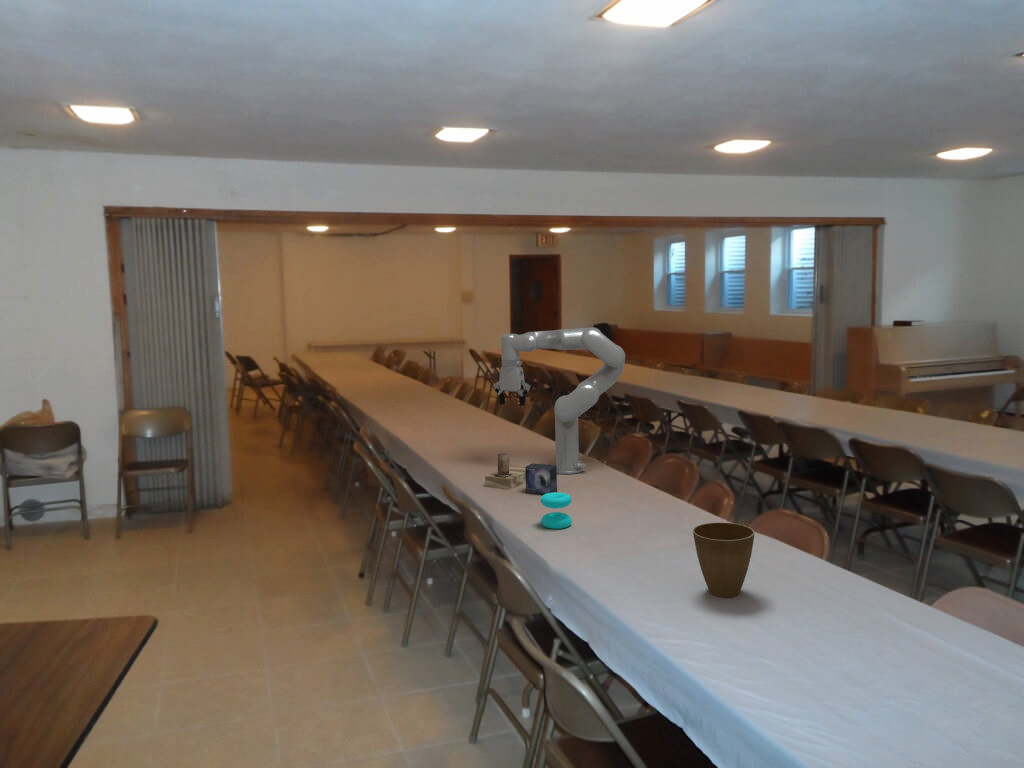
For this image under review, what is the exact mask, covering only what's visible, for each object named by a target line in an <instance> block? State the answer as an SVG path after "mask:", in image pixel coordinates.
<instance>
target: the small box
mask: <svg viewBox="0 0 1024 768" xmlns="http://www.w3.org/2000/svg"><path fill="white" fill-rule="evenodd" d="M525 470H526V482H525V493H526V494H530V495H538V496H543V495H544V494H547V493H554V492H558V476H557V475H558V473H557V466H556V464H555V465H554V464H544V463H536V462H532V463H530V464H528V465H526V466H525Z"/></svg>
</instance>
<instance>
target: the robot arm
mask: <svg viewBox="0 0 1024 768" xmlns="http://www.w3.org/2000/svg"><path fill="white" fill-rule="evenodd" d="M500 339H501V340H500V342H501V367H500V371H499V381H497V382H495V383H493V385H492V386H493V388H494V391H495V392H496V393H497V395H498V398H499V399H498V402H499V405H500V406H503V405H505V404H506V397H505V396H506V395H505V393H506V392H513V393H514V392H515V393H518V395H520V396H519V397H518V399H519V407H523V406H525V405H526V396H527V394H528V393H529V392H530V389H531V385H530V384H529V383H527V382H525V376H524V375H525V374H524V369H523V367H522V366H521V365H523V363H524V362H523V361H521V352H525V353H526V352H527V353H528V352H529V353H531V352H533V351H535V350H548V349H553V350H560V351H568V350H569V351H571V350H584V349H585V350H588V351H590V352H591V353H592V354H593V355H594V356H596V358H598V359H600V361H602V363H603V364H602V366H601V367H600V368H599V369H598V370H597V371H595V372H594V373H593V374H592V375H590V376H588V378H586V379H585V380H583V381H581V382H580V383H579V384H578V385H577V386H576V388H575V389H574V390H572V391H571V392H570V393H569V394H567V395H562V396H560V397H559V398H557V400H556V401H555V403H554V408H553V409H554V410H553V411H554V420H555V421H554V422H555V423H554V424H555V425H554V426H555V427H554V428H555V429H554V431H555V433H554V434H555V435H554V436H555V465H556V466H557V475H558V474H559V475H575V474H580V473H582V472H583V471H584V470H587V469H588V464H587V463H582V460H581V459H580V457H579V456H580V454H579V451H580V449H579V448H580V447H579V446H580V445H579V443H580V442H579V417H580V416H581V415H583V414H584V413H585V412H587V411H588V410H589V409H591V407H594V405H595V404H597V403H598V401H599V398H600V396H601V395H603V393H605V392H606V391H607V390H609V388H611V387H612V386H613V385H615V383H617V382H618V381H619V379H620V378H621V377H622V375H623V373H624V370H625V365H626V363H625V362H626V353H625V351H624V349H623V348H622V347H621V346H620V345H617V344H616V343H614V342H613V341H612V340H611V339H609V338H608V337H607V336H606V335H605V334H603V333H602V332H601V330H600V329H598V327H592V326H591V327H580V328H578V327H577V328H566V329H565V328H564V329H556V330H555V329H554V330H541V331H538V330H537V331H528V332H525V333H522V334H517V333H505V334H502V335H501V337H500Z"/></svg>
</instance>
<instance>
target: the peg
mask: <svg viewBox="0 0 1024 768" xmlns="http://www.w3.org/2000/svg"><path fill="white" fill-rule="evenodd" d="M509 467H510V454H508V453H498V454H497V472H498V477H504V478H506V477H508V476H509Z"/></svg>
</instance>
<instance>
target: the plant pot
mask: <svg viewBox="0 0 1024 768" xmlns="http://www.w3.org/2000/svg"><path fill="white" fill-rule="evenodd" d="M692 534H693V540H694V545H695V551H696V554H697V555H696V556H697V559H698V562H699V563H698V564H699V566H700V571H701V572H702V576H703V580H704V581H705V582H704V583H705V584H706V587H707V589H708V592H709V593H710V594H711V595H713V596H715V597H719V598H733V597H736V596H738V595H739V594H740V592H741V590H742V587H743V585H744V583H745V578H746V576H747V573H748V570H749V566H750V562H751V558H752V553H753V547H754V540H755V530H754V529H753V528H751V527H750V526H748V525H744V524H740V523H734V522H717V521H716V522H708V523H702V524H699V525H696V526H695V527H694V528H693V529H692Z"/></svg>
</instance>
